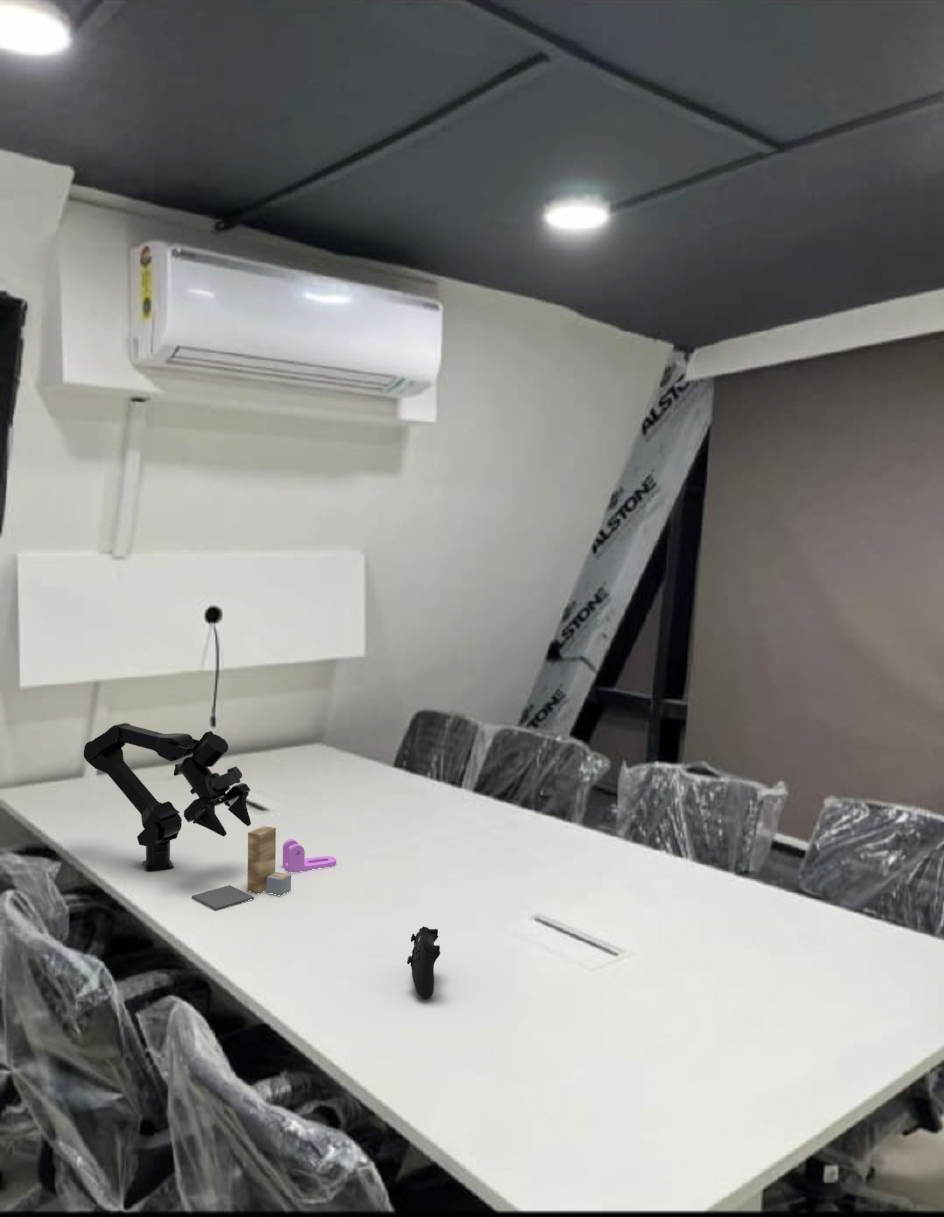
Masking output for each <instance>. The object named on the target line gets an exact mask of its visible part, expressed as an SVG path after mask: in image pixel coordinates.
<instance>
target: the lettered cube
mask: <svg viewBox="0 0 944 1217" xmlns="http://www.w3.org/2000/svg"><path fill="white" fill-rule="evenodd" d="M291 890H292V874H290V873H285V872H284V873H283V872H280V871H275V873H274V874H272V875H270V876H268V877H267V890H266V891H265V892H266V894H267V893H273V894H276V895H280V896H281V895H283V894H284V893H286V894H288V893H290V892H291ZM289 891H290V892H289ZM287 892H288V893H287ZM276 895H275V896H276ZM280 896H279V897H280ZM283 896H284V895H283ZM281 897H282V896H281Z"/></svg>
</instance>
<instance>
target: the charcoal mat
mask: <svg viewBox="0 0 944 1217" xmlns="http://www.w3.org/2000/svg"><path fill="white" fill-rule="evenodd" d="M191 899H192V900H194V901H197V902H198V903H200V904H202V905H204V906H205V907H208V908H209V909H211V910H213V911H220V910H222V909H227V908H230V907H233V906H236V905H240V904H243V903H242V902H244V903H246V902H245V901H247V902H249V901H248V900H250V899H254V900H255V896H253V895H251V894H249V893H246V892H245V891H243V890H241V889H239V888H237V887H234V886H233V885H229V884H228V885H225V886H221V887H218V888H215V889H211V890H208V891H204V892H200V893H197V894H193V895H191ZM250 901H251V900H250ZM229 906H230V907H229ZM226 907H227V908H226Z"/></svg>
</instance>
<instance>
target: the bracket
mask: <svg viewBox="0 0 944 1217" xmlns="http://www.w3.org/2000/svg"><path fill="white" fill-rule="evenodd" d="M305 852H306V851H305V848H304V847H303V846H302V845H300V844H299V842H298V841H296V840H295V839H292V838H289V839H287V840H286V841H285V842H284V843H283V845H282V868H283V867H284V868H285V869H286V870H287V871H288V872H287V871H286V870H285V871H286V872H287V873H289V872H290V873H291V872H299V873H301V872H300V871H305V872H307V871H306V870H312V869H318V868H325V867H331V868H333V867H332V866H334V865H336V866H337V858H336V857H334V856H331V855H323V856H314V857H307V858H305V857H306V855H305ZM334 867H335V866H334ZM284 868H283V869H284ZM325 869H326V868H325ZM312 871H313V870H312ZM290 873H289V874H290Z"/></svg>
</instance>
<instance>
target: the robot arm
mask: <svg viewBox="0 0 944 1217" xmlns="http://www.w3.org/2000/svg"><path fill="white" fill-rule="evenodd" d="M126 744H129V745H131V746H132V745H133V746H136V747H139V748H140V747H141V748H143V749H147V750H151V751H153V752H156V754H157V755H158V757H160V758H163V759H164V760H167V761H168V762H174V761H178V760H182V759H184V760H183V761H181V762H179V763H176V764H174V771H173V776H174V777H176V776H179V775H183V777H184V778H185V780H186V781H187V783H188V784H189V786H190V787H191V789H190V791H189V792H190V794H192V795H195V794H196V795H197V797H198V798H196V799H194V800H193V801H192V802H190V804H189V805H188V806H187V807H186V808H185V809H184V810H183V818H184V819H185V820H186V822H187V823H191V822H192V823H193V824H194V825H195V824H197V825H199V826H201V827H204V828H206V829H208V830H210V831H211V832H214V833H215V834H217V835H219V836H222V837H226V836H227V834H228V833H227V831H226V830H225V828H224V826H223V824H222V823H221V821H220V819H219V817H218V816H217V815H216V808H215V807H217V806H220V805H223V804H224V805H225V806H226V807H228V808H227V810H228V812H230V813H231V814H233V816H235V817H236V818H237V819H238V820H239V822H242V823H243V825H245V826H247V827H249V826H250V825H251V824H252V822H251V818H250V815H249V811H248V807H247V798H248V797H249V793H250V792H251V789H250V787H249V785H247V783H244V782H241V779H242V778H243V773H242V772H241V771H242V770H240V769H239V768H238V767H237V766H233V767H230V768H227V770H226V771H227V772H226V773H224V774H221V775H220V773H218V772H212V770H211V769H210V768H212V767H214V766H215V765H216V764H217V763H218V762H219V761H220V760H221V758H223V757H224V755H225V754H226V753H227V752H228V751H229V744H228V742H227V740H226V739H225V738H222V737H221V736H220V735H218V734H214V733H213V731H211V730H210V731H209V730H208V731H206V732H204V734H203V735H202V736H201V737H200V739H199V740H198V739H196V738H193V736H192V735H191V734H189V733H183V732H182V733H179V732H178V733H162V732H158V731H154V730H150V729H147V728H144V727H140V726H139V727H138V726H135V725H132V724H130V723H128V722H127V723H126V722H123V723H118V724H113V725H112V726H111V727H110V728H108V729H107V730H106V731H105V732H103V733H102V734H100V735H99V736H96V737H95V738H94V739H92V740H90V741H88V742H86V743H85V745H84V748H83V757H84V759H85V761H86V762H87V763H88V764H89V765H90V766H92V767H93V768H94V769H96V770H98V771H100V772H103V773H105V774H107V776H108V777H110V779H111V780H112V781H113V782H114V784H115V785H116V787H118V788H119V789H120V791H121V793H122V794H124V796H125V797H126V799H128V800H129V803H131V804H132V806H134V808H135V809H136V810H137V811H138V812H139V814H140V816H141V818H140V819H141V825H142V827H143V830H142V831H141V832H140V833H139V834H138V835H137V836H136V839H137V842H138V845H140V846H141V847H142V846H143V847H145V860H143V861H142V865H143V867H144V870H145V871H147V872H150V871H159V870H166V869H168V870H169V869H173V868H174V864H173V862H172V861H171V841H172V840H176V839H177V838H178V835H179V832H180V831H181V830H182V824H183V823H182V822H183V818H182V817H181V815H180V811H179V810H177V808H175V806H174V805H173V803H172V802H171V801H169V800H168V801H164V802H160V801H158V799H156V797H155V796H154V795H153V794H152V793H151V792H150V790H149V789H148V788H147V786H145V784H144V783H143V781H142V780H140V778H139V777H138V775H137V774H136V773H135V772H134V771H133V770H132V769H131V768H130V767H129V766H128V764H127V763H126V761H125V758H124V750H123V748H124V747H125V746H126ZM231 786H232V787H231Z"/></svg>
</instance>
